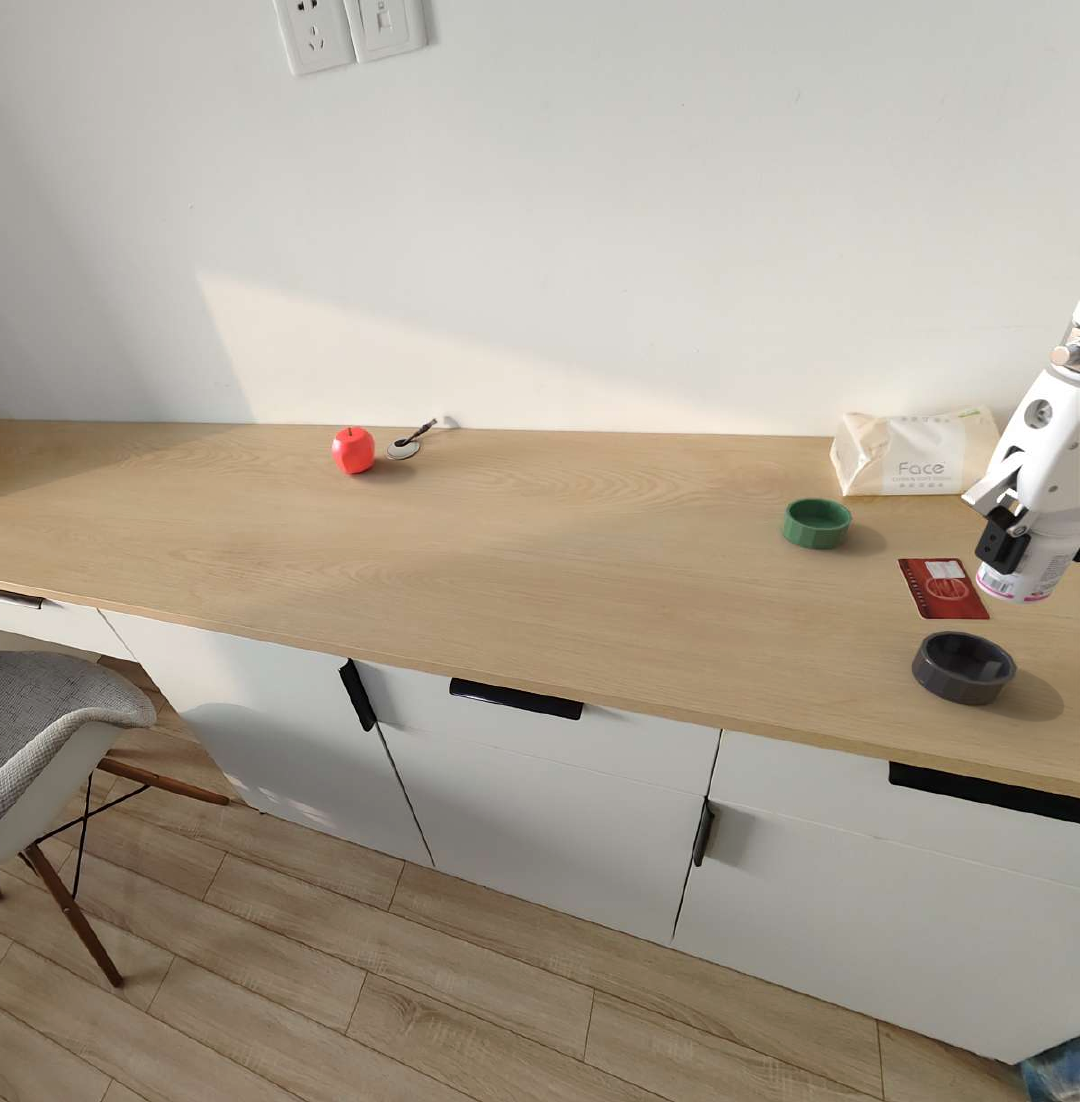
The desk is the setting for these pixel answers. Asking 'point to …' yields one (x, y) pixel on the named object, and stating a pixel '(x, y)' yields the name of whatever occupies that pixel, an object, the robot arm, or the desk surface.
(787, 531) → the green round container
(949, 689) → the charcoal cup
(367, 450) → the apple
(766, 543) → the desk surface
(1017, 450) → the robot arm
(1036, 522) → the pill bottle
